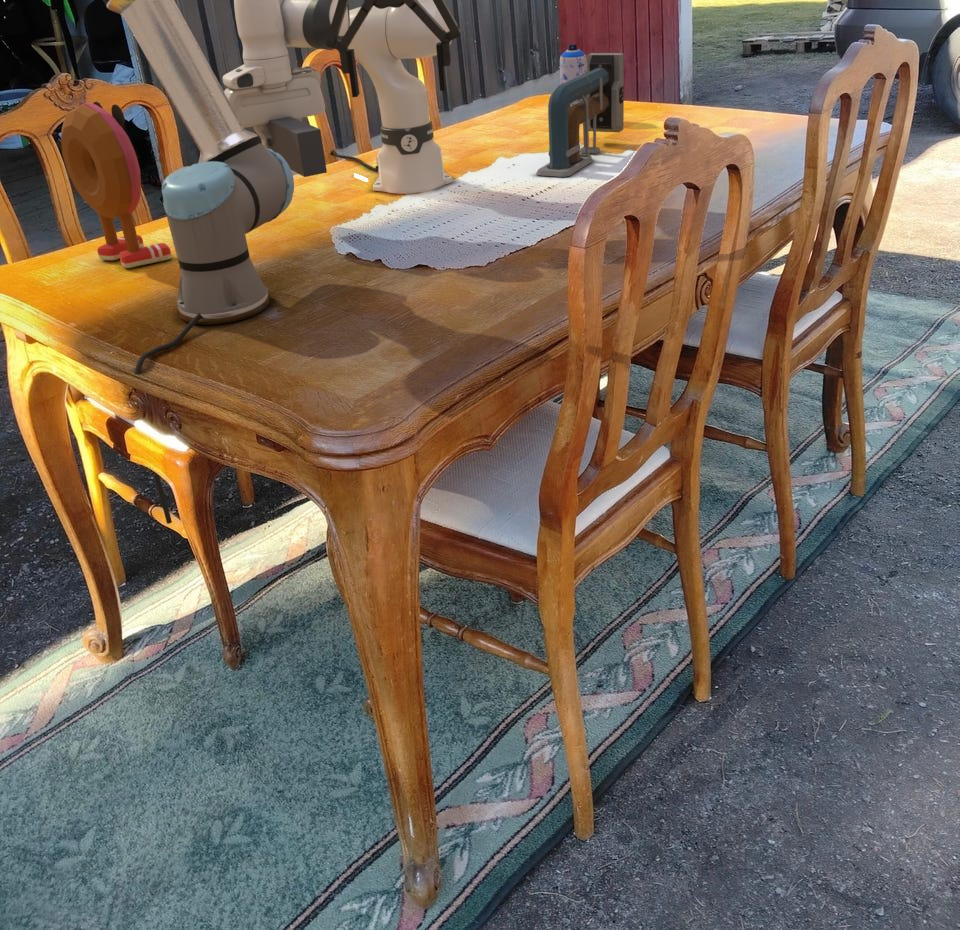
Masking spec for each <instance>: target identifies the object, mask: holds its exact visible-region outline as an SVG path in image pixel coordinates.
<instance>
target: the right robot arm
mask: <svg viewBox="0 0 960 930" xmlns="http://www.w3.org/2000/svg"><path fill="white" fill-rule="evenodd" d="M418 2H419V3H420V4H421V5H422V6H423V7H424V8H425V9H426V11H427V12H428V13H429V14H430V15H431V16H432V17H433V18H434V19H435V20H436V21H437V23H438V24H439V25H440V26H441V27H442V28H443V29H444V30H445V31H446V32H448V31H450V30H449V29H448V27H447V25H446V23H445V21H444V20H443V18H442V16H441V14H440V13H439V11H438V9H437V7H436V5H435V4H434V2H433V0H418ZM337 3H338V0H233V6H234V18H235V22H236V23H235V24H236V28H237V29H236V30H237V34H238V37H239V39H240V41H241V45H242V61H243V64H242V65H240V66H238V67H237V68H235V69H232V70H231V71H229V72H227V73H225V74H224V75H223V76H222V83H223V85H224V86H225V87H226V88H225V89H224V90H223V91H224V93H225V94H226V96H227V98H228V100H229V102H230V104H231V105H232V107H233V109H234V111H235V113H236V115H237V116H238V118H239V120H240V122H241V124H242V126H243V127H244V128H245V129H246V128H251V127H253V131H254V133H255V134H257V135H258V136H259V138H260V140H261V142H262V144H263V145H264V147H265V148H267V147H272V144H271V138H269V137H265V135H264V134H263V133H262V130H264V129H263V124H269V120H273V119H279V118H285V117H292V118H295V119H297V120H300V121H302V122H303V118H308V117H313V116H318V115H323V114H324V111H325V110H326V103H325V100H324V95H323V92H322V89H321V85H322V81H321V74H320V72H319V71H318V69H317V68H315V67H312V66H311V65H306V66H303V67H291V61H290V60H291V59H290V56H289V50H288V48H299V49H300V48H301V49H303V48H305V49H306V48H307V49H308V48H309V49H310V48H311V49H318V50H325V51H334V50H335V49H334V48H329V47H327V46H326V40H327V36H328V33H329V30H330V26H331V23H332V20H333V17H334V13H335V10H336V7H337ZM360 8H361V6H359V7H356V8H353V9H350V1H349V2H348V5H347V9H346V12H345V15H344V19H343V22H342V25H341V28H340V32H339V35H338V38H337V39H339V40H342V38H343V37H344V35H345V33H346V32H347V30H348V28H349V27H350V25H351V23H352V22H353V20H354V18H355V17H356V15H357V13H358V12H359V10H360ZM438 42H441V41H440V40H439V39H438V38H437V37H436V36H435V35H434V34H433V32H432V31H431V30H430V29H429V28H428V27H427V26H426V25H425V24H424V23H423V22H422V21H421V19H420V18H419V17H418V16H417V15H416V14H415V13H414V12H413V11H412V10H411V9H410V8H409V7H408V6H407V5H406V4H404V5H403V6H401V7H398V8H393V7H387V8H384V9H379V8H377V7H375V6H373V7H372V9H371V10H370V12H369V14H368V15H367V17H366V18H365V20H364V22H363V23H362V25H361V27H360V28H359V30H358V32H357V33H356V35H355V37H354V38H353V40H352V42H351V43H350V45H349V46H348V49H354V55H355V61H357V62H358V63H359V64H360V65H361V66H362V68H363V69H364V70H365V72H366V73H367V74H368V76H369V78H370V80H371V82H372V84H373V87H374V89H375V92H376V96H377V102H378V107H379V113H380V121H381V126H380V128H379V129H380V137H381V143H382V146H381V148H380V150H379V151H378V152H377V153H376V154H377V156H376V166H375V167H374V166H372V165H370V164H368V163H366V162H364V161H363V160H361V159H360V158H358V157H355V156H349V155H342V154H338V153H337V152H336V150H335V149H331V151H330V152H329V154H330V156H332V155H334V156H335V157H336V158H340V159H344V160H351V161H356V162H358V163H360V164H361V166H364V167H365V168H366V169H369V170H371V171H373V172H376V173H377V174H378V176H377V178H376V180H375V182H374V183H373V184H372V191H374V192H384V193H389V194H397V195H398V194H399V195H400V194H401V195H405V194H407V195H408V194H417V193H418V194H419V193H424V192H429V191H432V190H435V189H436V190H437V189H438V188H440V187H442V186H444V185H449V184H451V183H454V181H453V177H452V176H451V175H450V174H448V173H446V172H445V170H444V159H443V152H442V147H441V146H440V145H439V144H438V143H437V142H435V140H434V137H435V136H434V127H433V121H432V120H431V116H430V106H429V105H430V104H429V96H428V95H429V93H428V90H427V86H426V85H425V83H424V82H423V81H422V80H421V79H420V78H419V77H416V76H415V75H413V74H411V73H410V72H409V71H408V70H407V69H406V68H405V66H404V64H403V62H402V60H405V59H406V60H407V59H408V60H409V59H428V58H432V57H437V49H436V44H437V43H438ZM452 42H453V40H451V41H450V45H452ZM353 175H354V178H356V179H358V180H361V181H363V182H366V183H367V182H369V180H368V178H367V177H364V176H362V175H361V174H360V175H359V174H357V173H354V174H353Z"/></svg>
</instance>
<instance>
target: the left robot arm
mask: <svg viewBox="0 0 960 930" xmlns="http://www.w3.org/2000/svg"><path fill="white" fill-rule="evenodd" d="M102 1H103V3H104V4H105V6H106V8H107V9H108V10H109V11H112V12H113V13H117V14H119V15H121V16H122V17H123V19H124V20H125V22H126V24H127V26H128V28H129V30H130V32H131V33H132V34H133V36H134V38H135V40H136V42H137V44H138V45H139V47H140V49H141V50H142V52H143V54H144V56H145V58H146V60H147V61H148V63H149V64H150V66H151V68H152V70H153V72H154V73H155V75H156V77H157V79H158V80H159V82H160V84H161V86H162V87H163V89H164V91H165V93H166V94H167V97H168V98H169V100H170V102H171V103H172V105H173V107H174V108H175V110H176V112H177V114H178V116H179V117H180V119H181V120H182V122H183V124H184V126H185V128H186V130H187V132H188V133H189V135H190V137H191V138H192V140H193V142H194V144H195V145H196V147H197V149H198V151H199V159H198V162H197V163H193V164H191V165H190V166H189V165H187V166H183V167H180V168H178V169H176V170H174V171H173V172H171V173H170V174H168V175H167V176H166V177H165V178H164V180H163V182H162V185H161V193H162V200H163V204H162V205H163V210H164V213H165V214H166V219H167V223H168V226H169V230H170V231H169V232H170V235H171V238H172V242H173V247H174V250H175V254H176V258H177V262H178V266H179V283H178V294H177V303H176V305H177V310H178V314H179V318H180V319H182V320H183V321H184V322H186V323H188V324H187V325H186V326H185V327H184V328H183V329H182V330H181V332H180V333H179V334H178V335H176V336H175V337H174V339H172V340H171V341H169V342H167V343H165V344H162V345H159V346H156V347H153V348H152V349H149V350H148V351H145V352H144V353H142V354H140V356H139V357H138V359H137V362H136V365H135V370H134V374H135V375H139V374H141V373H142V368H143V365H144V362H145V360H146V359H148V358H150V357H152V356H154V355H156V354H158V353H160V352H163V351H166V350H168V349H171V348H173V347H175V346H176V345H177V344H179V343H180V341H181V340H182V339H183V338H184V337H186V335H187V334H188V333H189V332H190V330H192V328H193V327H194V326H195V325H202V326H203V325H204V326H205V325H206V326H210V325H222V324H230V323H233V322H239V321H241V320H245V319H248V318H251V317H253V316H256V315H258V314H260V312H263V311H264V310H265V309H266V308H267V307H268V306H269V305H270V296H269V291H268V288H267V287H266V284H265V283H264V282H263V280H262V278H261V276H260V274H259V272H258V270H257V269H256V267H255V265H254V264H253V262H252V260H251V257H250V251H249V246H248V241H247V236H246V234H249V233H250V232H252V231H254V230H256V229H257V228H259V227H261V226H262V225H265V224H267V223H271V222H272V221H273V220H275V219H277V218H278V217H279V216H280V215H281V214H282V213H284V212H285V211H286V210H287V209H288V208H289V206H290V204H291V203H292V200H293V197H294V193H295V179H294V175H293V172H292V170H291V169H290V167H289V165H288V163H287V162H286V160H285V159H284V158H283V157H282V156H281V155H280V154H279V153H275V152H274V151H273V150H271V149H268V148H265V147H264V145H263V144H262V140H261V138H260V137H259V135H258V134H257V133H256V132H253V131H249V130H247V129H246V128H244V127H243V126H242V124H241V122H240V120H239V118H238V116H237V115H236V113H235V111H234V109H233V107H232V105H231V104H230V102H229V100H228V98H227V96H226V94H225V93H224V91H225V90H224V89H223V87H222V85H221V83H220V81H219V80H218V77H217V76H216V75H215V73H214V71H213V69H212V67H211V65H210V64H209V62H208V60H207V58H206V56H205V54H204V52H203V51H202V49H201V47H200V45H199V43H198V41H197V40H196V38H195V36H194V34H193V32H192V30H191V29H190V27H189V24H188V23H187V21H186V20H185V18H184V16H183V14H182V12H181V11H180V8H179V7H178V5H177V3H176V1H175V0H102ZM348 2H349V3H350V0H338V3H337V7H336V10H335V13H334V17H333V20H332V23H331V26H330V30H329V33H328V36H327V40H326V46H327V47H329V48H334V50H337V51H338V53H339V61H340V66H341V71H342V74H347V75H349V83H350V90H351V97H352V98H358V96H359V95H360V94H361V93H360V86H359V79H358V71H357V64H356V63H357V62H356V59H355V55H354V49H348V46H349V45H350V43H351V42H352V40H353V38H354V37H355V35H356V33H357V32H358V30H359V28H360V27H361V25H362V23H363V22H364V20H365V18H366V17H367V15H368V14H369V12H370V10H371V9H372V7H373V6H375V7H377V8H379V9H384V8H387V7H393V8H398V7H401V6H403V5H404V4H406V5H407V6H408V7H409V8H410V9H411V10H412V11H413V12H414V13H415V14H416V15H417V16H418V17H419V18H420V19H421V21H422V22H423V23H424V24H425V25H426V26H427V27H428V28H429V29H430V30H431V31H432V32H433V34H434V35H435V36H436V37H437V38H438V39H439V40H440V41H441V42H438V43H437V44H436V49H437V55H436V59H437V70H438V71H437V72H438V81H439V91H440V92H443V91H444V92H445V91H446V89H447V81H446V80H447V79H446V70H445V67H449V66H451V62H452V53H451V44H450V41H451V40H452V41H454V40H455V39H458V38H459V37H460V35H461V33H462V31H461V28H460V26H459V24H458V22H457V21H456V19H455V17H454V15H453V14H452V11H451V10H450V8H449V6H448V5H447V3H446V1H445V0H433V2H434V4H435V5H436V7H437V9H438V11H439V13H440V14H441V16H442V18H443V20H444V21H445V23H446V25H447V27H448V29H449V30H450V31H448V32H446V31H445V30H444V29H443V28H442V27H441V26H440V25H439V24H438V23H437V21H436V20H435V19H434V18H433V17H432V16H431V15H430V14H429V13H428V12H427V11H426V9H425V8H424V7H423V6H422V5H421V4H420V3H419V2H418V0H364V1H363V3H362V4H361V6H360V7H361V8H360V10H359V12H358V13H357V15H356V17H355V18H354V20H353V22H352V23H351V25H350V27H349V28H348V30H347V32H346V33H345V35H344V37H343V38H342V40H339V39H337V38H338V35H339V32H340V28H341V25H342V22H343V19H344V15H345V12H346V9H347V5H348ZM152 476H153V479H154V483H155V486H156V490H157V492H158V497H159V500H160V503H161V506H162V507H161V508H162V511H163V514H164V518H165V522H166V524H167V525H169V524H171V523H173V520H172V517H171V512H170V508H169V506H168V502H167V498H166V494H165V490H164V488H163V486H162V481H161V478H160V475H159V474H154V475H152Z"/></svg>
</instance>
